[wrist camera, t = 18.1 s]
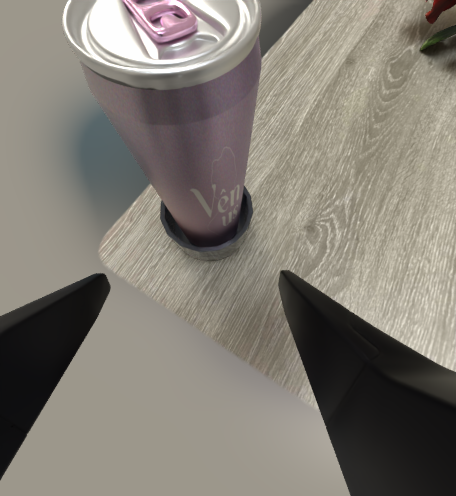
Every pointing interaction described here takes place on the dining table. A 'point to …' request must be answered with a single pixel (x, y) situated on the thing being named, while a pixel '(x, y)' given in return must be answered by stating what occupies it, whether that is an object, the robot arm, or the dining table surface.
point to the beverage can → (177, 97)
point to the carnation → (440, 4)
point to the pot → (215, 251)
